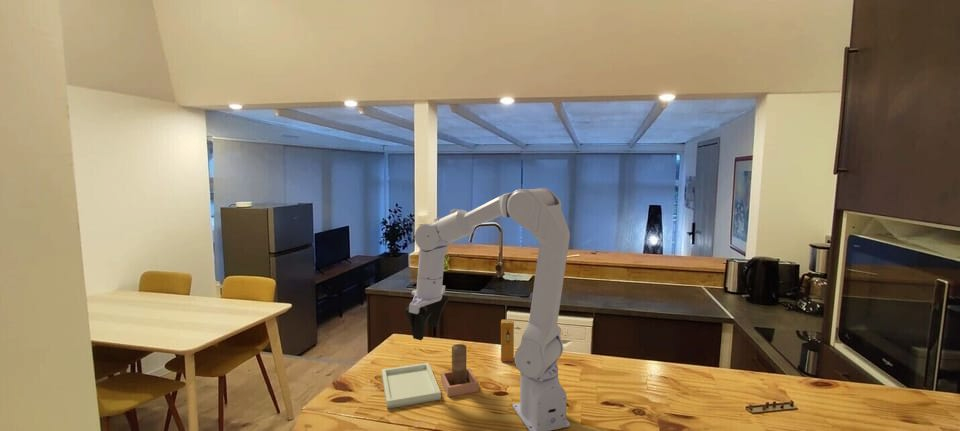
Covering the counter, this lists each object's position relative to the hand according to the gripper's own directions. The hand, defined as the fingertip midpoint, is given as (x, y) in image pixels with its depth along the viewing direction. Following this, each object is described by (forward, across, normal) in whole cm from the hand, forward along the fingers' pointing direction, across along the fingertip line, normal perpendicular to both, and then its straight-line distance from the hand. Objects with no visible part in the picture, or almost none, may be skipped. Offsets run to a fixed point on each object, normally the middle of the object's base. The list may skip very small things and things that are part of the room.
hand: (425, 332), depth 93 cm
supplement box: (+9, -14, +17) cm, 24 cm away
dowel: (+9, +2, +10) cm, 14 cm away
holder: (+9, +2, +10) cm, 14 cm away
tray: (+10, +6, 0) cm, 12 cm away
